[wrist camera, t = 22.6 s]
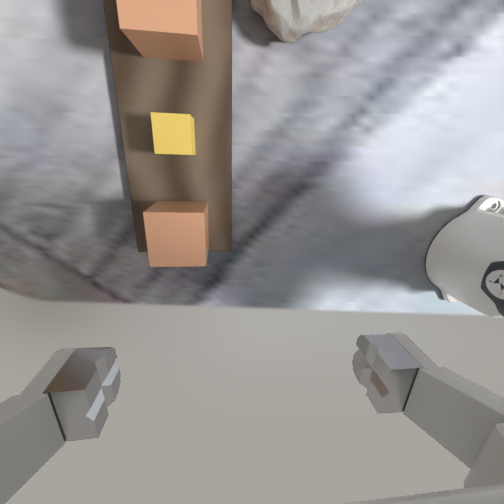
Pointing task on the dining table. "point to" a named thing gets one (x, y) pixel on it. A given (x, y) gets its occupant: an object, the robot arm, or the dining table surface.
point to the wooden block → (177, 233)
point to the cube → (173, 133)
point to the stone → (302, 16)
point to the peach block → (163, 28)
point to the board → (180, 102)
